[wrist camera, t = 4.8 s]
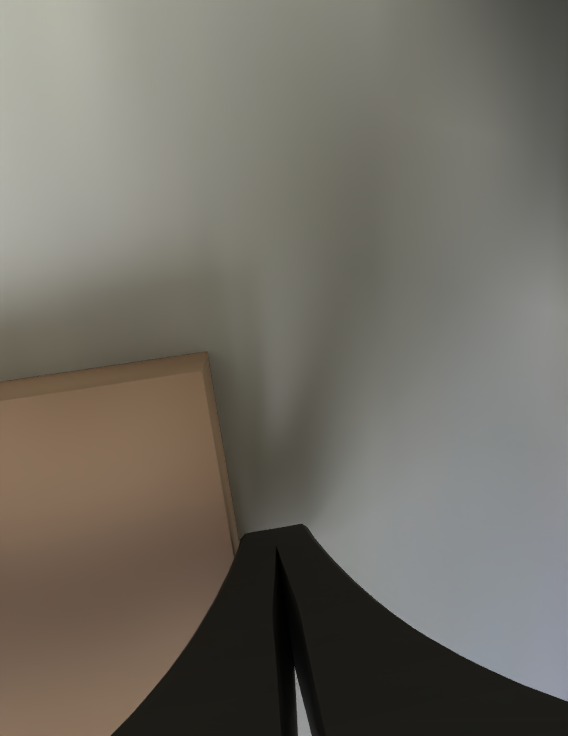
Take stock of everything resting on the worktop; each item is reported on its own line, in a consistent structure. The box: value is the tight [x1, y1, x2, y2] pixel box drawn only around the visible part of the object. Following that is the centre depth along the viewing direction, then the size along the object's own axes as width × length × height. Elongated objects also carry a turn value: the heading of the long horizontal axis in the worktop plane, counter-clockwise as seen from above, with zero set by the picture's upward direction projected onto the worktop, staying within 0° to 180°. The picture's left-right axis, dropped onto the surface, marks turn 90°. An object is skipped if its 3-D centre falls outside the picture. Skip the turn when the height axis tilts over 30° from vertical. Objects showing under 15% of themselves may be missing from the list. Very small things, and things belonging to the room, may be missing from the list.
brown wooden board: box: [0, 352, 239, 736], centre depth 11 cm, size 9×6×2 cm, turn 8°
